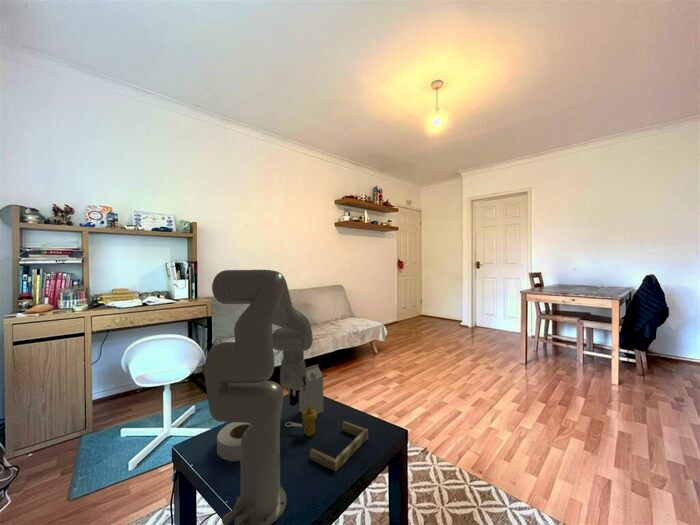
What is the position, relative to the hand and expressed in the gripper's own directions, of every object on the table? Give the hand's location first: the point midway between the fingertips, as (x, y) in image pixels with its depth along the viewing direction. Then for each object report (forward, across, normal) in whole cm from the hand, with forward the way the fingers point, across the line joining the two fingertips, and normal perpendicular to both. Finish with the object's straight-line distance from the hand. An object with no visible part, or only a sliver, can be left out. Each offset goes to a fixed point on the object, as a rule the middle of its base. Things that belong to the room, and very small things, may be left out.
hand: (294, 404), depth 107 cm
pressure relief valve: (+9, +5, -2) cm, 10 cm away
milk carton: (+9, -1, +11) cm, 15 cm away
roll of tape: (+9, -7, -18) cm, 21 cm away
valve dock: (+8, +22, -1) cm, 23 cm away
